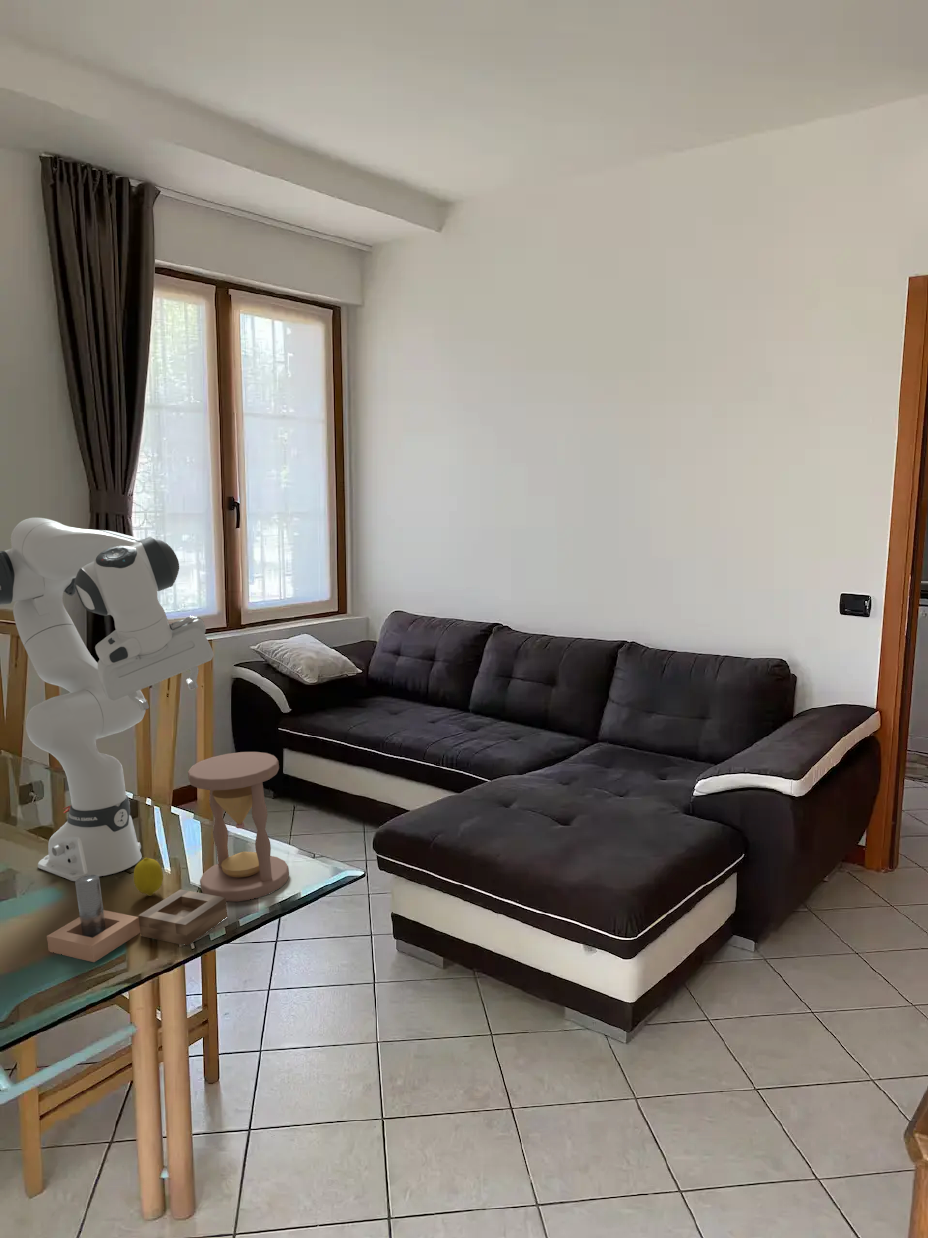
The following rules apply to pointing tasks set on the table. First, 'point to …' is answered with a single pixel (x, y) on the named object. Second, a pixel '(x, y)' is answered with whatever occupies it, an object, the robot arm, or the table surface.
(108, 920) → the socket collar
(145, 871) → the lemon
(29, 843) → the table surface
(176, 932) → the square peg hole block
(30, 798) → the table surface
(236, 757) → the hourglass
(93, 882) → the steel peg
